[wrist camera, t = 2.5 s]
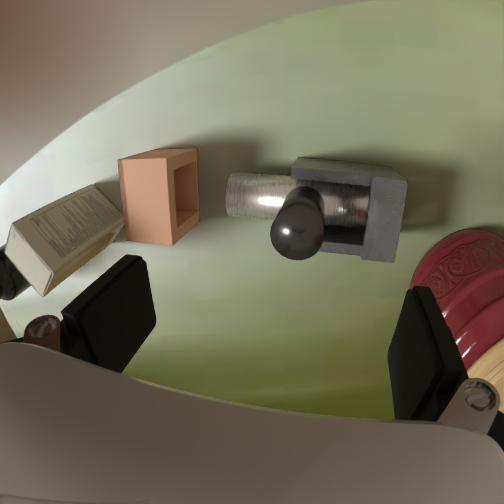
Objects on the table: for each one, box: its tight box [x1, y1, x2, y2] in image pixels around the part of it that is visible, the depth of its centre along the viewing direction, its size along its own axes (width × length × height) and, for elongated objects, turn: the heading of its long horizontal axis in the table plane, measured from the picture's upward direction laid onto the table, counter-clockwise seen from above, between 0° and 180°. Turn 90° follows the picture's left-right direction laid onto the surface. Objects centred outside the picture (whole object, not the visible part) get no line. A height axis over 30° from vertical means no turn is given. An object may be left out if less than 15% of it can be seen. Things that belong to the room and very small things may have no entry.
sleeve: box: [291, 157, 408, 263], centre depth 24 cm, size 8×6×6 cm
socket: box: [118, 149, 200, 246], centre depth 27 cm, size 4×7×6 cm, turn 179°
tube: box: [226, 173, 370, 260], centre depth 22 cm, size 12×4×10 cm, turn 89°
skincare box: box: [5, 184, 125, 298], centre depth 27 cm, size 6×4×12 cm
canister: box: [410, 229, 504, 413], centre depth 19 cm, size 13×13×18 cm
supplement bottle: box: [0, 244, 31, 300], centre depth 33 cm, size 7×7×12 cm
